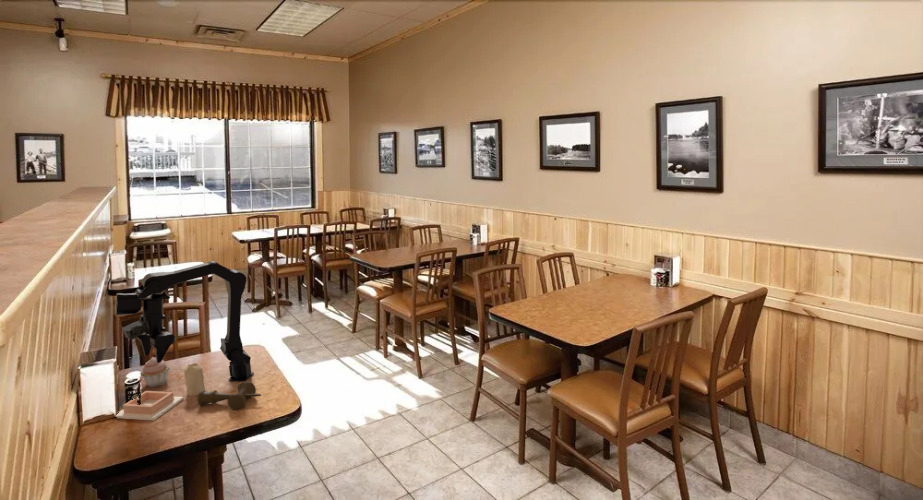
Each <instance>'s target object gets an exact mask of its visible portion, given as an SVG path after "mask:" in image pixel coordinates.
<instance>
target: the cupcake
mask: <svg viewBox="0 0 923 500" xmlns="http://www.w3.org/2000/svg"><path fill="white" fill-rule="evenodd" d="M170 370H171V367H169V366H168V365H167V364H166V362H165V361H164V359H162V361H161V362H160V363H157V360H156V356H155V357H154V356H152V357H151V359H149V360H148V361H146V362H145V364H144V366H143V367H142V370H141V372H140V373H139V375H140V374H141V375H140V376H141V377H142V378H143V381H144V382H145V385H146V386H147V387H148V388H149V387H150V388H152V387H153V388H155V387H159V386H162V385H165V384H166V383H167V382H168V381H167V380H168V376H169V372H170Z"/></svg>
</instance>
